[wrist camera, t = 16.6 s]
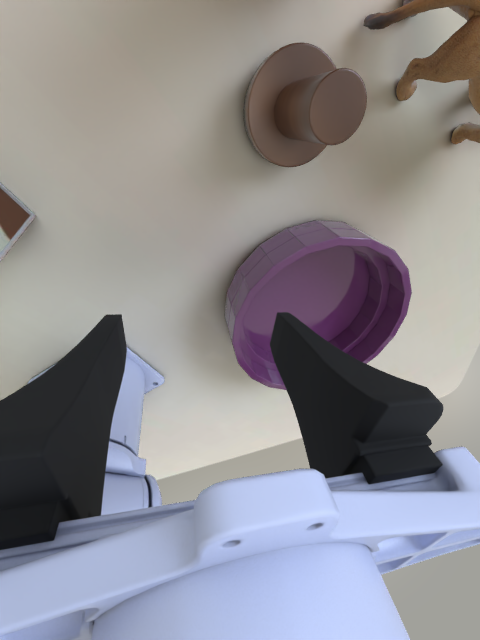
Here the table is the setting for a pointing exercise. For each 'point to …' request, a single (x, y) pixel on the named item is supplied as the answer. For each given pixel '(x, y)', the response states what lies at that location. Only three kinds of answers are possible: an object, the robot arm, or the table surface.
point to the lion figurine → (443, 55)
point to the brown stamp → (301, 105)
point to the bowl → (317, 294)
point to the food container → (12, 220)
